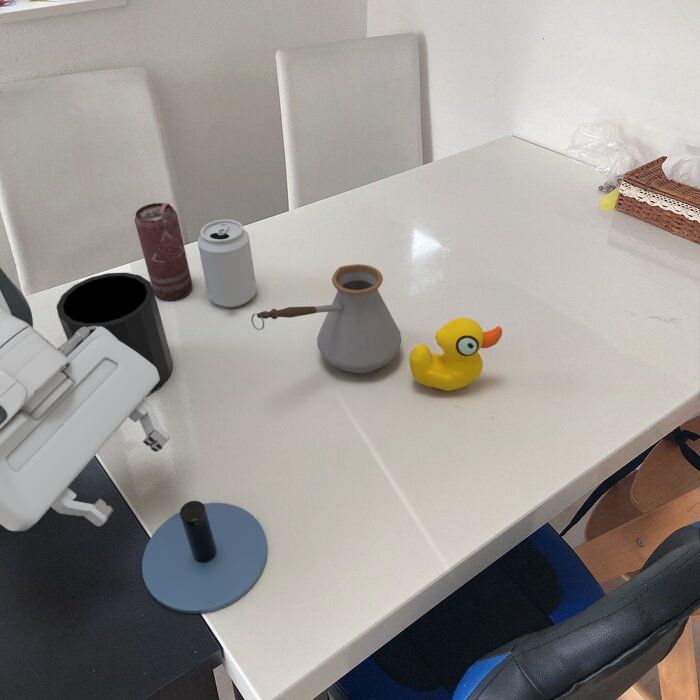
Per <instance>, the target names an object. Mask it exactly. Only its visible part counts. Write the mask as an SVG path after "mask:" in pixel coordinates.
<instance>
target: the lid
mask: <svg viewBox="0 0 700 700" xmlns="http://www.w3.org/2000/svg"><path fill="white" fill-rule="evenodd" d="M267 557H268V541H267V537H266V534H265V530H264V528H263V527H262V524H261V522H260V521H258V519H257V518H256V517H255V516H254V515H253V514H252V513H250V512H249V511H248V510H246V509H244V508H242V507H239V506H238V505H234V504H231V503H226V502H206V503H203V502H202V501H199V500H190V501H188V502H185V503H184V504H183V505H182V506H181V507H180V510H179V511H178V512H177V513H175V514H174V515H172V516H170V517H169V518H167V519H166V520H165V521H164V522H163V523H162V524H160V526H159V527H158V528H157V529H156V530H155V531H154V533H153V534H152V535H151V537H150V539H149V541H148V542H147V545H146V546H145V549H144V553H143V556H142V561H141V572H142V573H141V574H142V578H143V580H144V584H145V587H146V588H147V590H148V592H149V593H150V595H151V596H152V598H153V599H155V601H156V602H158V603H159V604H160V605H162V606H163V607H165V608H167V609H169V610H171V611H175V612H177V613H182V614H188V615H189V614H190V615H191V614H192V615H193V614H196V615H198V614H207V613H210V612H215V611H218V610H221V609H224V608H226V607H228V606H230V605H232V604H233V603H235V602H237V601H238V600H240V599H241V598H242V597H244V595H246V594H247V593H248V592H249V591H250V590H251V589H252V588H253V587H254V585H255V584H256V583H257V582H258V580H259V578H260V577H261V575H262V573H263V570H264V568H265V566H266V563H267Z"/></svg>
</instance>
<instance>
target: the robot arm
mask: <svg viewBox="0 0 700 700" xmlns="http://www.w3.org/2000/svg"><path fill="white" fill-rule="evenodd" d="M91 330H95V331H94V332H93V333H91V334H90V331H91ZM81 342H82V343H81ZM80 343H81V344H80ZM79 344H80V345H79ZM78 345H79V346H78ZM77 346H78V347H77ZM76 347H77V348H76ZM75 348H76V349H75ZM74 349H75V350H74ZM159 380H160V378H159V374H158V371H157V368H156V367H155V366H154V365H153V364H151V363H150V362H149V361H148V360H146V359H145V358H144V357H142V356H141V355H140V354H138V353H137V352H136V351H134V350H133V349H131V348H130V347H128V346H127V345H125V344H124V343H122V342H120V341H119V340H118V339H117V338H116V337H115V336H114V335H113V334H111V333H110V332H109V331H108V330H107V329H105V328H104V327H101V326H100V327H99V326H90V327H82V328H80V329H79V330H77V331H76V332H75V334H74V336H73V337H71V338H70V339H69V340H66V341H64V342H63V343H62V344H60V346H59V347H58V348H57V347H56V346H54V344H52V343H51V342H50V341H49V340H48V339H46V338H45V336H43V335H41V333H40V332H39V331H37V330H36V329H35V328H34V319H33V313H32V309H31V306H30V304H29V302H28V300H27V298H26V297H25V296H24V294H23V293H22V291H21V290H20V289H19V288H18V287H17V285H16V283H14V282H13V281H12V279H11V278H9V276H8V275H7V274H6V272H4V270H3V269H2V268H1V266H0V526H2V527H4V529H6V530H8V531H11V532H25V531H27V530H29V529H30V528H32V527H33V526H35V525H36V524H37V523H38V522H40V519H41V518H43V516H44V515H45V514H46V513H47V511H48V510H49V509H50V508H52V510H54V511H55V512H57V513H58V514H59V515H60V514H61V515H68V516H76V517H84V518H85V519H87V521H89V522H90V523H91V524H92V525H94V526H96V527H101V526H103V525H104V524H105V523H106V522H107V521H108V519H109V518H110V517H111V516H112V514H113V513H114V509H113V507H112V506H111V505H107V502H105V500H103V499H102V498H98V499H97V500H95V501H94V502H92V503H88V502H82V501H76V500H75V499H76V498H77V493H75V492H74V491H73V490H72V489H70V488H69V486H70V485H71V484H72V483H73V482H74V480H75V479H76V478H77V477H78V476H79V474H81V472H82V471H83V470H84V469H85V467H86V466H88V464H89V463H90V462H91V461H92V460H93V458H94V457H95V456H96V455H97V454H98V452H100V450H102V448H103V447H104V445H106V444H107V442H108V441H109V440H110V439H111V438H112V436H113V435H114V434H115V433H116V432H117V431H118V430H119V428H120V427H121V426H122V425H123V423H124V422H125V421H126V420H128V418H129V419H130V420H131V421H133V423H136V422H138V421H139V423H140V425H141V427H142V429H143V431H144V433H145V435H146V437H145V438H144V439H143V440H142V443H143V444H144V445H146V446H147V447H149V448H150V449H151V450H152V451H153V452H155V453H158V452H159V451H161V450H162V449H163V448H164V447H165V446H166V444H167V443H168V442H169V440H170V439H171V437H170V435H169V434H168V433H167V432H166V431H165V430H164V429H162V428H161V427H160V426H159V425H160V424H159V421H158V419H157V417H156V412H155V410H154V408H153V406H152V405H151V404H149V403H148V401H147V400H145V398H146V397H148V396H147V394H148V393H149V392H150V391H151V390H152V389H153V388H154V386H155V385H156V384H157V383H158V382H159Z"/></svg>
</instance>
